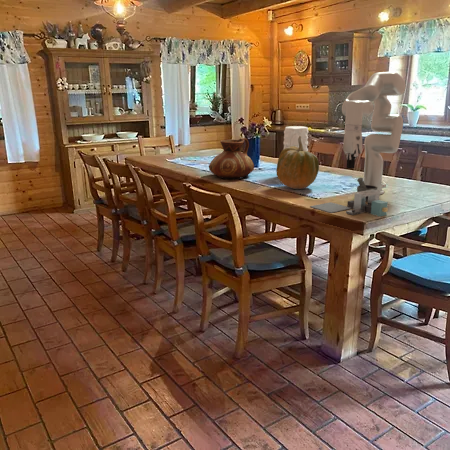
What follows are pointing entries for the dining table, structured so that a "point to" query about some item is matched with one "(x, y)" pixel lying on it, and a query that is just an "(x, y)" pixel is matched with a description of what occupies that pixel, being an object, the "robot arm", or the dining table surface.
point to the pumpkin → (297, 167)
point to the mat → (331, 207)
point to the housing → (363, 200)
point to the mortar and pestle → (364, 187)
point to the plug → (379, 208)
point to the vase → (295, 136)
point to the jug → (232, 160)
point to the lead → (367, 207)
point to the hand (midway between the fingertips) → (350, 168)
